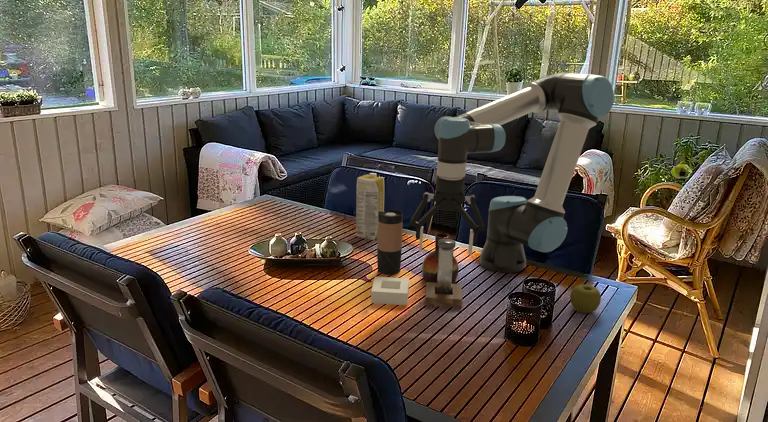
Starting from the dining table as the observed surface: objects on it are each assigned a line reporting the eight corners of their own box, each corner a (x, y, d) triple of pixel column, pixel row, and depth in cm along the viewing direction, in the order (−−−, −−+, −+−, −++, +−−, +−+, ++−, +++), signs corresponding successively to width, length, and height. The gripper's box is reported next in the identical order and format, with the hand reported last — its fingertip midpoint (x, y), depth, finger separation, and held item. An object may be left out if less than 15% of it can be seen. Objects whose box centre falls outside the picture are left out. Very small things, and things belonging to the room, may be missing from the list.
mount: (460, 295, 164) (460, 284, 163) (461, 311, 154) (462, 299, 153) (425, 293, 165) (426, 282, 164) (425, 308, 155) (425, 297, 154)
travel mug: (398, 279, 174) (400, 217, 168) (374, 276, 175) (375, 215, 169) (402, 269, 181) (404, 210, 175) (379, 267, 182) (380, 208, 176)
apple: (595, 320, 151) (599, 296, 149) (565, 312, 155) (568, 288, 153) (601, 309, 157) (605, 286, 155) (572, 302, 161) (575, 279, 159)
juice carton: (385, 236, 211) (387, 173, 204) (374, 241, 205) (375, 177, 198) (365, 231, 216) (366, 170, 209) (353, 236, 209) (353, 174, 202)
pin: (451, 295, 161) (455, 239, 156) (451, 302, 157) (455, 245, 152) (434, 294, 162) (438, 238, 157) (434, 301, 157) (438, 244, 152)
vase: (433, 293, 165) (436, 243, 160) (414, 279, 174) (416, 232, 170) (464, 286, 170) (468, 238, 165) (444, 273, 179) (447, 227, 175)
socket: (408, 292, 165) (409, 278, 163) (406, 308, 155) (407, 293, 154) (374, 290, 165) (375, 276, 164) (370, 306, 156) (371, 291, 154)
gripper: (496, 176, 151) (489, 250, 157) (404, 171, 153) (400, 244, 159) (499, 182, 144) (492, 259, 150) (402, 177, 146) (399, 253, 152)
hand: (445, 251), depth 155 cm, fingers open, 13 cm apart
